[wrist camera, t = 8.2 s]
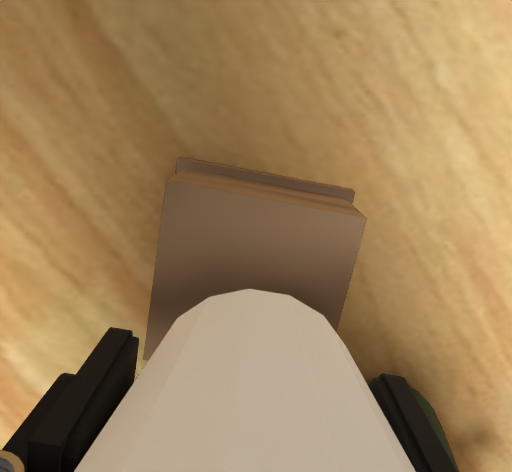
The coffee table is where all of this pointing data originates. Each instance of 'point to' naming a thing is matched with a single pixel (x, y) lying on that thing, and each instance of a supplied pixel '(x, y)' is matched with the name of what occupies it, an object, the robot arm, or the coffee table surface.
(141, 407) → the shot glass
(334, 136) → the coffee table surface
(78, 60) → the coffee table surface
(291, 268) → the pedestal
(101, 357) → the robot arm
